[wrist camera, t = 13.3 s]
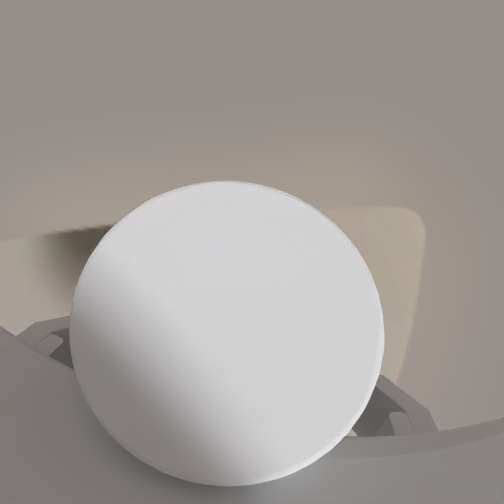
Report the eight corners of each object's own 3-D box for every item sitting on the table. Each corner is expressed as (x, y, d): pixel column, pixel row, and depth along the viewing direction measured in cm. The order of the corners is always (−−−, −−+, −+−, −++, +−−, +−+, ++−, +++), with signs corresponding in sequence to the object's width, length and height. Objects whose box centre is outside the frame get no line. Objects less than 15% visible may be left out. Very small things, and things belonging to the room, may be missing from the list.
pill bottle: (183, 307, 15) (101, 144, 5) (295, 320, 15) (398, 173, 5) (167, 416, 12) (11, 452, 2) (287, 430, 12) (412, 510, 2)
